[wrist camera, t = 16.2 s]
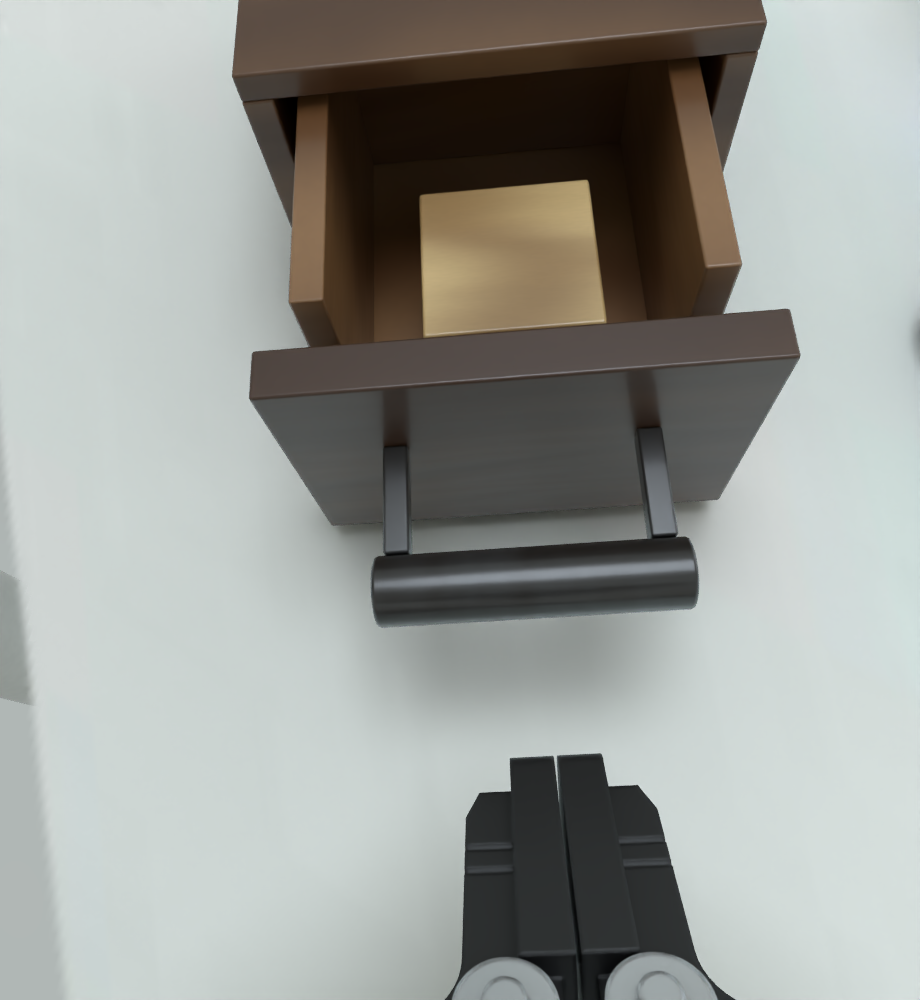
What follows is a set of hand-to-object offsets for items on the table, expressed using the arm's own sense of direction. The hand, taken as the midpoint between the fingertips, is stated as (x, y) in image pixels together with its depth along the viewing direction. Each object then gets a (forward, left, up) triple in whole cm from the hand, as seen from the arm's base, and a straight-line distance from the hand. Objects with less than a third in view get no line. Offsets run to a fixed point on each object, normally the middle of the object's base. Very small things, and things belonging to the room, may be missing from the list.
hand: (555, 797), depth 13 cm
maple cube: (-3, +15, -5) cm, 16 cm away
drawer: (-2, +12, -8) cm, 15 cm away
